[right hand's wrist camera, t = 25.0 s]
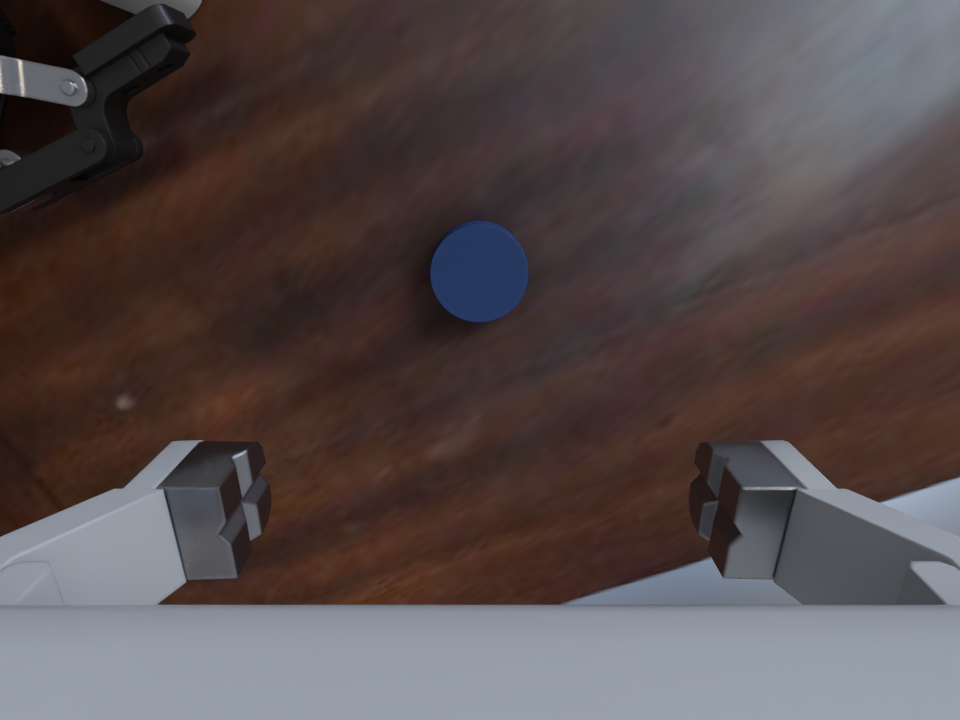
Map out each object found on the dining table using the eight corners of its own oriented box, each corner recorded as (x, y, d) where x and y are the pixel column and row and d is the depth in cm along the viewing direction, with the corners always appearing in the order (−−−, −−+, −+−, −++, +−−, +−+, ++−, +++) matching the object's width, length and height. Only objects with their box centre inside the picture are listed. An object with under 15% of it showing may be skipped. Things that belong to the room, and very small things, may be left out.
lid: (445, 321, 30) (443, 331, 29) (422, 232, 29) (418, 237, 27) (533, 302, 30) (536, 311, 28) (515, 210, 28) (518, 214, 27)
